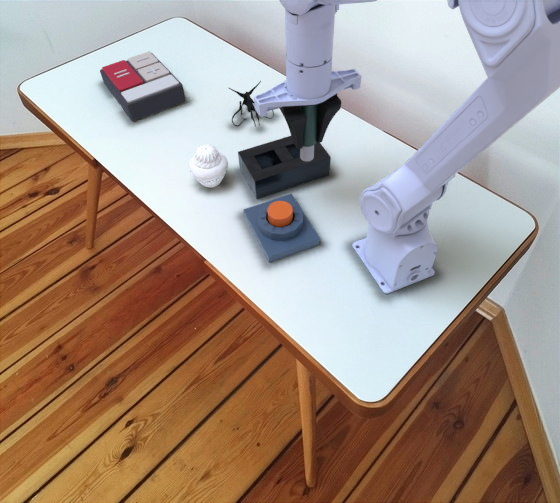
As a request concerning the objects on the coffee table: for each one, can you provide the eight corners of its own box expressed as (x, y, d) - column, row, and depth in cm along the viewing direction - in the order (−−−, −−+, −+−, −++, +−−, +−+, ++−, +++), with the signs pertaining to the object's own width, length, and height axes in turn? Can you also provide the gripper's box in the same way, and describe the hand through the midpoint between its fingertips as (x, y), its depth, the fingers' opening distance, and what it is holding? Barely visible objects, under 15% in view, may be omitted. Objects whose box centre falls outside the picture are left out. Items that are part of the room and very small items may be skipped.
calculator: (150, 48, 102) (182, 80, 94) (155, 68, 105) (187, 101, 97) (97, 66, 99) (125, 101, 90) (104, 86, 102) (132, 122, 93)
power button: (296, 222, 74) (296, 214, 73) (273, 230, 73) (273, 222, 72) (286, 205, 76) (286, 197, 75) (264, 213, 75) (263, 205, 74)
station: (319, 244, 75) (320, 231, 72) (269, 263, 73) (268, 250, 71) (291, 199, 81) (291, 185, 78) (243, 215, 79) (242, 201, 76)
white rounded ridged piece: (185, 178, 84) (177, 144, 79) (218, 162, 86) (212, 129, 81) (204, 200, 81) (197, 167, 75) (237, 183, 83) (233, 150, 78)
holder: (329, 175, 84) (330, 156, 80) (256, 199, 81) (254, 181, 78) (310, 148, 88) (310, 129, 85) (239, 170, 85) (237, 151, 82)
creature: (278, 127, 93) (265, 95, 96) (279, 107, 88) (265, 73, 92) (236, 137, 92) (224, 104, 95) (235, 117, 87) (222, 83, 90)
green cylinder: (318, 160, 76) (321, 102, 68) (302, 165, 75) (303, 107, 67) (311, 149, 77) (312, 91, 69) (295, 154, 77) (295, 96, 69)
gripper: (346, 25, 67) (339, 112, 78) (242, 52, 64) (250, 139, 74) (373, 52, 63) (362, 140, 74) (263, 82, 60) (268, 169, 70)
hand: (307, 141), depth 74 cm, fingers closed on green cylinder, 2 cm apart
